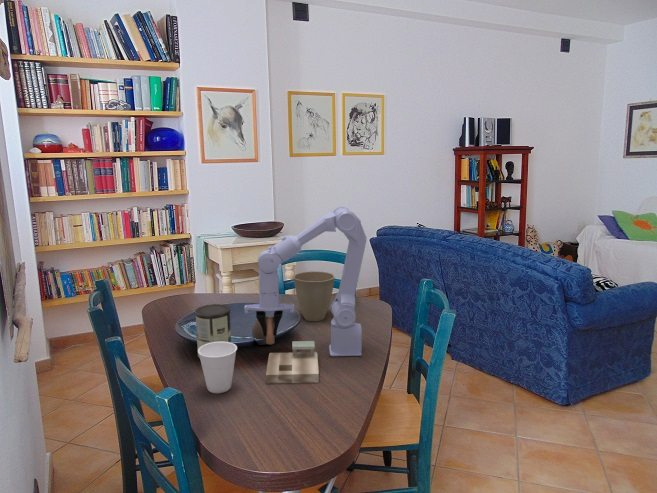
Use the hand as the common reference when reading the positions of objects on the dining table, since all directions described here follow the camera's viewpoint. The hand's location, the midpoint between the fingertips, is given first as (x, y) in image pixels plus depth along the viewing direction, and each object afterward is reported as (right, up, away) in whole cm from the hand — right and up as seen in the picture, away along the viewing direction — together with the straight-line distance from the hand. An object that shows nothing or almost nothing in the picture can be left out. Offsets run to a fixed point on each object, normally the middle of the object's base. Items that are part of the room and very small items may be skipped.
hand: (270, 334), depth 147 cm
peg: (0, -2, 0) cm, 2 cm away
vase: (-4, -5, +11) cm, 12 cm away
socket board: (+7, -9, -9) cm, 15 cm away
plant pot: (+12, 0, +33) cm, 36 cm away
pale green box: (+10, -7, -4) cm, 13 cm away
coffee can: (-17, -6, +2) cm, 18 cm away
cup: (-11, -11, -19) cm, 24 cm away
